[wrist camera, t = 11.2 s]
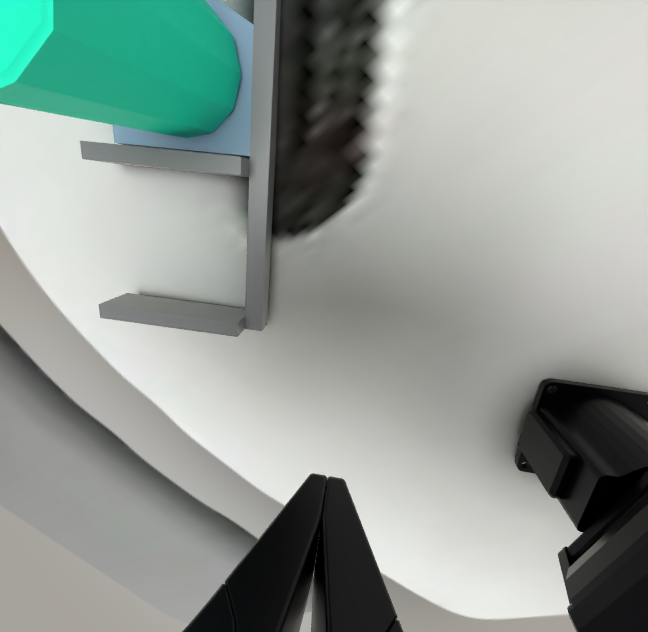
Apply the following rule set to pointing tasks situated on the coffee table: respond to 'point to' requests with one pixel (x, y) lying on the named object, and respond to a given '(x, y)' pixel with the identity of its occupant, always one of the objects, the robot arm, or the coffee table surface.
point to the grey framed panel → (229, 138)
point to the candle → (120, 62)
